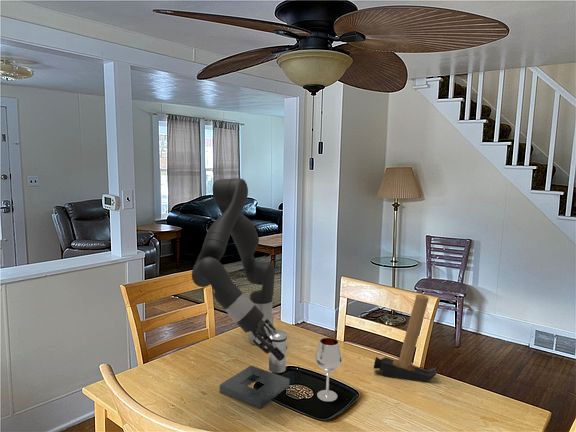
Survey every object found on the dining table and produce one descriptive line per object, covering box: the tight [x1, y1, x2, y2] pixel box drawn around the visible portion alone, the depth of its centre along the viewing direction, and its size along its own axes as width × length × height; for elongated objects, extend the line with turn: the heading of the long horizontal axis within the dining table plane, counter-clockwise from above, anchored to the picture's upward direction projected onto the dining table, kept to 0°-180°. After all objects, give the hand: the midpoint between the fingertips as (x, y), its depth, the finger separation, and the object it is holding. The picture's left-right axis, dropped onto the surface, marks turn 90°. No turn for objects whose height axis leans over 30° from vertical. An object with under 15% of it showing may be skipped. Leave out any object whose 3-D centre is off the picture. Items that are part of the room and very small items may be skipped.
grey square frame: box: [219, 365, 290, 410], centre depth 134 cm, size 16×16×2 cm
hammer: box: [373, 294, 437, 383], centre depth 143 cm, size 20×5×30 cm, turn 76°
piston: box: [268, 329, 288, 374], centre depth 123 cm, size 5×5×11 cm
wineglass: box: [315, 337, 343, 402], centre depth 130 cm, size 8×8×18 cm
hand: (283, 354), depth 123 cm, fingers closed on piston, 5 cm apart
